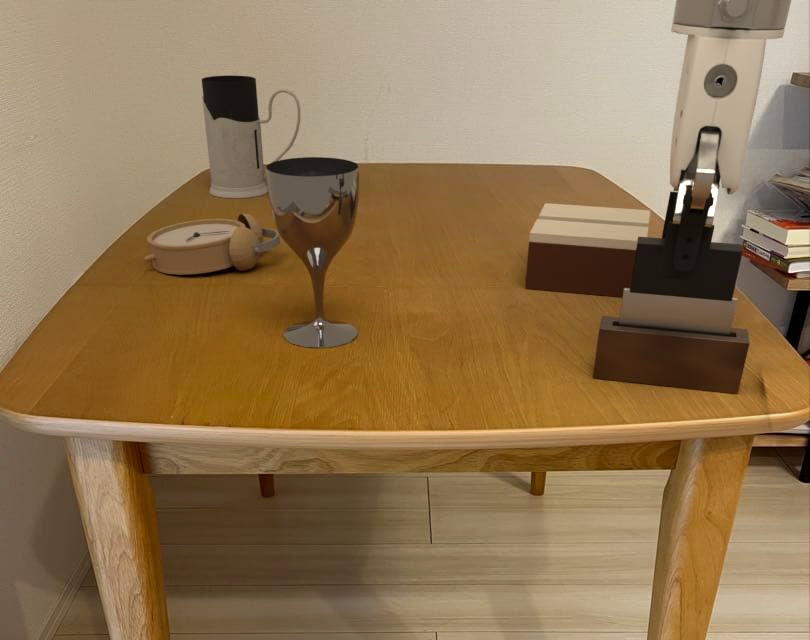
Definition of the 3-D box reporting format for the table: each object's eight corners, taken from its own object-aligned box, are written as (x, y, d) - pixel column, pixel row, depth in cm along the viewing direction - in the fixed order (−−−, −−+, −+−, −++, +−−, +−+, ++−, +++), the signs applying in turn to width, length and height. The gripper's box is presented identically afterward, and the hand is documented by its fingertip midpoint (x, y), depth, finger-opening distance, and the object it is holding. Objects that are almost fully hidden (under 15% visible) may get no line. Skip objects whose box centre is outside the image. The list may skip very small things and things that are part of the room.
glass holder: (216, 184, 135) (204, 74, 127) (308, 185, 135) (302, 75, 126) (203, 197, 128) (190, 82, 120) (300, 199, 128) (293, 84, 119)
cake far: (642, 263, 103) (650, 210, 100) (640, 277, 99) (649, 222, 95) (540, 254, 106) (545, 202, 102) (534, 268, 101) (538, 214, 98)
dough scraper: (717, 379, 76) (748, 244, 69) (718, 389, 74) (749, 251, 68) (611, 368, 78) (631, 235, 71) (610, 377, 76) (630, 242, 70)
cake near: (639, 282, 97) (648, 227, 94) (637, 298, 93) (647, 241, 90) (532, 273, 100) (536, 218, 96) (524, 288, 95) (529, 232, 92)
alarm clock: (153, 224, 105) (276, 199, 104) (166, 264, 108) (286, 241, 107) (135, 251, 96) (270, 225, 95) (150, 295, 98) (281, 269, 98)
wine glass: (275, 349, 81) (261, 176, 72) (282, 319, 87) (270, 156, 79) (361, 349, 81) (358, 176, 72) (362, 318, 87) (359, 157, 79)
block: (735, 379, 76) (747, 328, 73) (737, 394, 73) (749, 342, 71) (595, 364, 78) (602, 315, 76) (592, 378, 76) (599, 328, 73)
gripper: (802, 21, 53) (734, 299, 63) (776, 6, 67) (724, 236, 76) (674, 15, 54) (627, 288, 64) (675, 1, 68) (636, 228, 78)
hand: (680, 259), depth 70 cm, fingers open, 9 cm apart
